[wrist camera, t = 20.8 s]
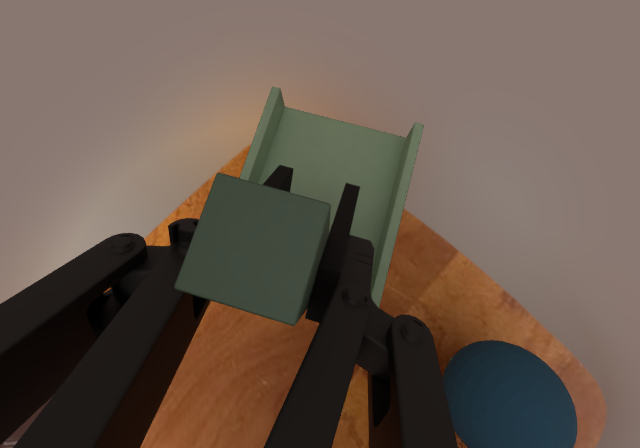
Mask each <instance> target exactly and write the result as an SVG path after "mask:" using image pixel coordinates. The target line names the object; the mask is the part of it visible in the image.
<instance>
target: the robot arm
mask: <svg viewBox="0 0 640 448" xmlns="http://www.w3.org/2000/svg"><path fill="white" fill-rule="evenodd" d="M293 169H294V168H290V167H287V166H283V165H279V166H278V167H277V168H276V169H275V171H274V172H273V173H272V174H271V175H270V176H269V177H268V179H267V180H266V181H265V182H264V183H263V184H262V185H265V186H269V187H273V188H276V189H280V190H283V191H287V192H290V189H291V183H292V176H293ZM359 190H360V186H356V185H353V184H349V183H346V184H345V187H344V190H343V193H342V196H341V199H340V202H339V205H338V208H337V211H336V214H335V217H334V221H333V224H332V227H331V230H330V233H329V236H328V239H327V242H326V245H325V248H324V251H323V255H322V258H321V261H320V264H319V267H318V270H317V274H316V278H315V282H314V286H313V290H312V294H311V298H310V302H309V306H308V309H307V313H306V316H305V318H306V319H309V320H312V321H315V322H318V323H320V324H319V326H318V328H317V331H316V333H315V335H314V337H313V339H312V342H311V344H310V346H309V348H308V351H307V353H306V355H305V357H304V359H303V362H302V364H301V366H300V368H299V370H298V373H297V375H296V377H295V379H294V382H293V384H292V386H291V388H290V390H289V393H288V395H287V397H286V399H285V401H284V404H283V406H282V408H281V410H280V412H279V415H278V417H277V419H276V421H275V424H274V426H273V428H272V430H271V432H270V435H269V437H268V439H267V441H266V443H265V446H264V448H332V444H333V441H334V437H335V433H336V430H337V426H338V423H339V419H340V416H341V412H342V409H343V405H344V402H345V398H346V395H347V391H348V388H349V384H350V381H351V377H352V374H353V370H354V367H355V363H356V364H358V365H359V366H360V367H362V368H363V369H365V370H366V371H368V415H369V448H458V446H457V442H456V437H455V433H454V429H453V424H452V420H451V415H450V411H449V406H448V402H447V398H446V393H445V389H444V384H443V380H442V376H441V371H440V367H439V362H438V358H437V353H436V349H435V345H434V340H433V336H432V334H431V332H430V329H429V328H428V327H427V326H426V325H425V324H424V323H423V322H422V321H421V320H419V319H418V318H416V317H413V316H410V315H400V316H397V317H396V318H394V317H392V316H390V315H389V314H387V313H385V312H384V311H382V310H381V309H380V308H379V307H378V306H377V305H376V304H375V303H374V301H373V300H372V297H371V293H370V289H371V279H372V268H373V258H374V247H373V245H372V243H371V241H370V240H367V239H363V238H360V237H356V236H353V235H349V234H350V230H351V225H352V221H353V217H354V212H355V208H356V203H357V199H358V195H359ZM198 222H199V220H198V219H192V218H186V219H180V220H177V221H175V222H173V223H171V224H170V225H169V226H168V229H169V236H170V243H171V245H170V246H146V242H145V240H144V238H143V237H141V236H140V235H138V234H133V233H123V234H118V235H114V236H111V237H109V238H107V239H105V240H104V241H102V242H100V243H99V244H97V245H96V246H94V247H92V248H91V249H89V250H87V251H86V252H84V253H83V254H81V255H79V256H78V257H76V258H75V259H73V260H71V261H70V262H68V263H66V264H65V265H63V266H62V267H60V268H58V269H57V270H55V271H53V272H52V273H50V274H49V275H47V276H45V277H44V278H42V279H40V280H39V281H37V282H36V283H34V284H32V285H31V286H29V287H27V288H26V289H24V290H22V291H21V292H19V293H18V294H16V295H14V296H13V297H11V298H9V299H8V300H6V301H5V302H3V303H1V304H0V445H1V444H2V443H3V442H4V441H6V440H7V439H8V438H9V437H10V436H11V435H12V434H13V433H14V432H15V431H16V430H17V429H18V428H19V427H20V426H21V425H22V424H24V423H25V422H26V421H27V420H28V419H29V418H30V417H31V416H32V415H33V414H34V413H35V412H36V411H37V410H38V409H39V408H40V407H42V406H43V405H44V404H45V403H46V402H47V401H48V400H49V399H50V398H51V397H52V396H53V397H52V398H51V399H50V401H49V402H48V403H47V404H46V406H45V407H44V408H43V410H42V411H41V412H40V413H39V415H38V416H37V417H36V419H35V420H34V421H33V422H32V424H31V425H30V426H29V428H28V429H27V430H26V431H25V433H24V434H23V435H22V437H21V438H20V439H19V440H18V442H17V443H16V444H15V446H14V447H13V448H140V446H141V444H142V442H143V440H144V438H145V436H146V434H147V432H148V430H149V428H150V425H151V423H152V421H153V419H154V417H155V415H156V413H157V411H158V409H159V407H160V405H161V403H162V401H163V398H164V396H165V394H166V392H167V390H168V388H169V386H170V384H171V382H172V380H173V378H174V376H175V374H176V371H177V369H178V367H179V365H180V363H181V361H182V359H183V357H184V355H185V353H186V351H187V349H188V347H189V344H190V342H191V340H192V338H193V336H194V334H195V332H196V330H197V328H198V326H199V324H200V322H201V320H202V317H203V315H204V313H205V311H206V309H207V307H208V305H209V303H210V301H211V300H208V299H205V298H201V297H198V296H195V295H192V294H189V293H185V292H182V291H179V290H176V289H175V288H174V286H175V283H176V281H177V278H178V275H179V273H180V270H181V267H182V265H183V262H184V259H185V257H186V254H187V251H188V249H189V246H190V243H191V241H192V238H193V235H194V233H195V230H196V227H197V225H198ZM110 287H111V289H110V290H109V291H107V292H105V291H106V290H107V289H109V288H110ZM103 292H105V293H103Z"/></svg>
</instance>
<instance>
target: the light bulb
mask: <svg viewBox="0 0 640 448" xmlns="http://www.w3.org/2000/svg"><path fill="white" fill-rule="evenodd" d="M442 380H443V384H444V389H445V393H446V398H447V402H448V406H449V411H450V415H451V420H452V424H453V428H454V430H455V432H456V433H457V435H458V436H459V437H460V439H461V440H462V441H463V442H464V444H465V445H466V446H467V447H468V448H573V447H574V444H575V441H576V436H577V417H576V412H575V407H574V404H573V402H572V399H571V397H570V395H569V393H568V391H567V389H566V387H565V386H564V384H563V382H562V381H561V379H560V378H559V377H558V376H557V375H556V373H555V372H554V371H553V370H552V369H551V368H550V367H549V366H548V365H547V364H546V363H545V362H544V361H542V360H541V359H540V358H539V357H537V356H536V355H534V354H533V353H531V352H529V351H527V350H525V349H524V348H522V347H519V346H516V345H513V344H510V343H506V342H503V341H494V340H490V341H478V342H475V343H472V344H469V345H467V346H465V347H463V348H462V349H460V350H459V351H458V352H457V353H456V354H455V355H454V356H452V357H451V358H450V360H449V362H448V365H447V367H446V369H445V371H444V375H443V379H442Z"/></svg>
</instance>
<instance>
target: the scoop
mask: <svg viewBox="0 0 640 448" xmlns="http://www.w3.org/2000/svg"><path fill="white" fill-rule="evenodd" d="M423 127H424V125H423V124H419V123H414V125H413V127H412V129H411V130H410V132H409V134H408V136H407V138H405V137H401V136H397V135H393V134H389V133H386V132H382V131H378V130H374V129H370V128H366V127H362V126H358V125H354V124H351V123H347V122H343V121H339V120H335V119H331V118H327V117H323V116H319V115H315V114H311V113H307V112H304V111H300V110H296V109H292V108H288V107H285V106H284V102H283V97H282V93H281V89H280V88H276V87H272V89H271V91H270V94H269V97H268V100H267V103H266V105H265V108H264V111H263V114H262V116H261V119H260V122H259V125H258V128H257V131H256V133H255V136H254V139H253V141H252V144H251V147H250V150H249V153H248V155H247V158H246V161H245V164H244V167H243V169H242V172H241V175H240V178H237V177H233V176H229V175H226V174H222V173H217V174H216V177H215V179H214V182H213V185H212V187H211V190H210V193H209V195H208V198H207V201H206V203H205V206H204V209H203V211H202V214H201V217H200V219H199V222H198V225H197V227H196V230H195V233H194V235H193V238H192V241H191V243H190V246H189V249H188V251H187V254H186V257H185V259H184V262H183V265H182V267H181V270H180V273H179V275H178V278H177V281H176V283H175V286H174V288H175V289H176V290H179V291H182V292H185V293H189V294H192V295H195V296H198V297H201V298H205V299H208V300H211V301H214V302H218V303H221V304H224V305H227V306H230V307H234V308H237V309H240V310H243V311H246V312H250V313H253V314H256V315H259V316H262V317H266V318H269V319H272V320H275V321H279V322H282V323H285V324H288V325H291V326H295V325H296V324H297V322H298V321H299V319H300V318H301V316H302V315H303V313H304V312H305V310H306V309H307V307H308V306H309V302H310V298H311V294H312V290H313V286H314V282H315V278H316V274H317V270H318V267H319V264H320V261H321V258H322V255H323V251H324V248H325V245H326V242H327V239H328V236H329V233H330V230H331V227H332V224H333V221H334V217H335V214H336V211H337V208H338V205H339V202H340V199H341V196H342V193H343V190H344V187H345V184H346V183H349V184H353V185H356V186H360V190H359V195H358V199H357V203H356V208H355V212H354V217H353V221H352V225H351V230H350V234H349V235H353V236H356V237H360V238H363V239H367V240H370V241H371V243H372V245H373V247H374V258H373V268H372V279H371V289H370V293H371V297H372V300H373V301H374V303H375V304H376V305H377V306H378V307H379V306H380V302H381V298H382V294H383V290H384V286H385V281H386V277H387V273H388V269H389V265H390V261H391V257H392V253H393V249H394V245H395V241H396V237H397V233H398V229H399V225H400V221H401V217H402V213H403V208H404V204H405V200H406V196H407V192H408V188H409V184H410V180H411V176H412V172H413V168H414V164H415V160H416V156H417V152H418V147H419V144H420V140H421V135H422V131H423ZM279 165H283V166H287V167H290V168H294V169H293V176H292V183H291V189H290V192H287V191H283V190H280V189H276V188H273V187H269V186H265V185H262V184H263V183H264V182H265V181H266V180H267V179H268V177H269V176H270V175H271V174H272V173H273V172H274V171H275V169H276V168H277V167H278V166H279Z"/></svg>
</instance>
